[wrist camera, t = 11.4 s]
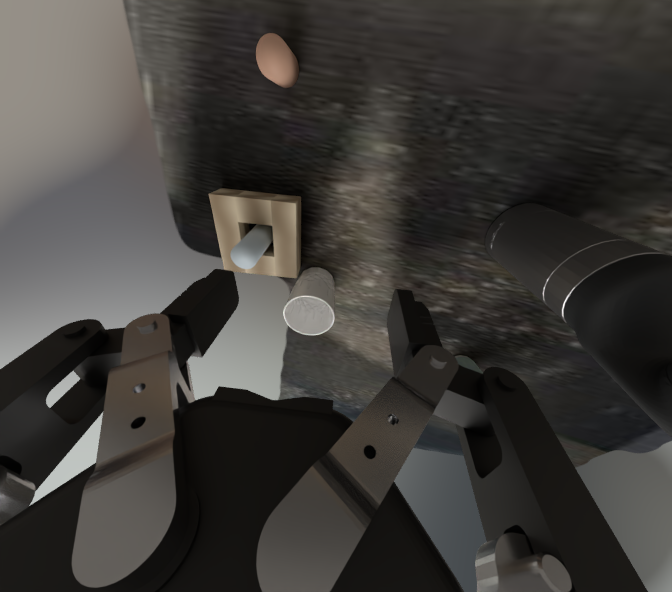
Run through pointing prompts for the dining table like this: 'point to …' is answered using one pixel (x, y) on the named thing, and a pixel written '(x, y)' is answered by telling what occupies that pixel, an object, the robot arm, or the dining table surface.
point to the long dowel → (252, 246)
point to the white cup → (311, 302)
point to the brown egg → (277, 60)
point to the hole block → (264, 209)
